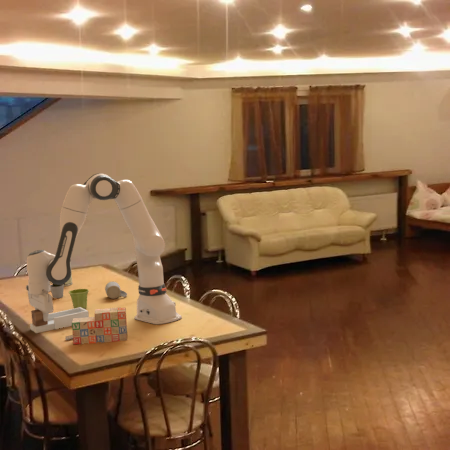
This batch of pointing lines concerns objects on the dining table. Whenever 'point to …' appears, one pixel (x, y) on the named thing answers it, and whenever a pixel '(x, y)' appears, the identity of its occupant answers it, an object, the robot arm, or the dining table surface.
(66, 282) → the coffee can
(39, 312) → the walnut block
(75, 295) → the plant pot
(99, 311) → the stack of blocks
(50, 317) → the channel
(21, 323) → the dining table surface
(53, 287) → the house plant
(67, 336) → the steel rod
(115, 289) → the ceramic mug
